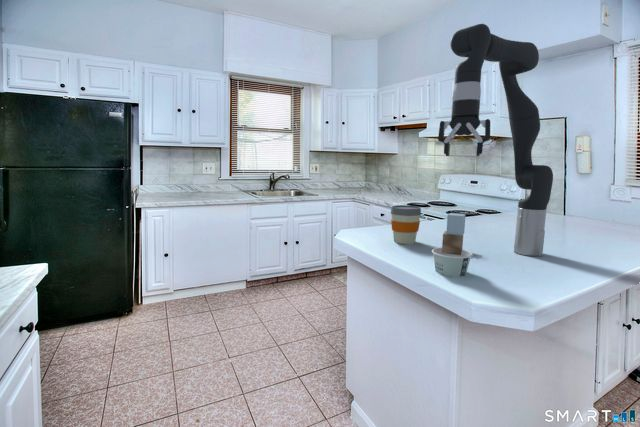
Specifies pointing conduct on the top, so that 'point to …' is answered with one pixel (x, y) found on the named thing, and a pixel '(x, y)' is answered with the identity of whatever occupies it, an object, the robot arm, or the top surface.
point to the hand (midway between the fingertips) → (462, 156)
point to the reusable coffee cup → (405, 223)
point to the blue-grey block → (455, 224)
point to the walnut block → (452, 244)
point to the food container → (451, 262)
